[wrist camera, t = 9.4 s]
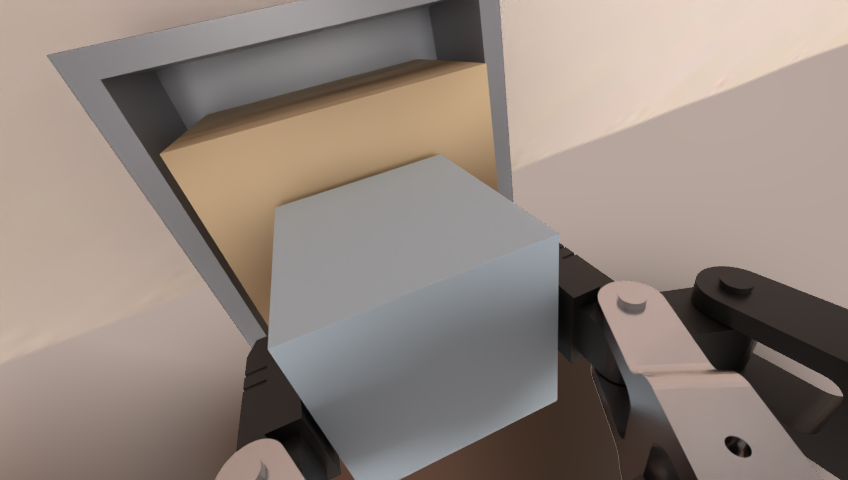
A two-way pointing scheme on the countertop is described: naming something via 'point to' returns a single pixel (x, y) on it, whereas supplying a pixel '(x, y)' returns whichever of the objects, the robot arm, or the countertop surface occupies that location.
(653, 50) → the countertop surface
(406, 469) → the light blue cube
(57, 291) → the countertop surface
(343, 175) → the oak block
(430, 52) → the tote
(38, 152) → the countertop surface
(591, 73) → the countertop surface
